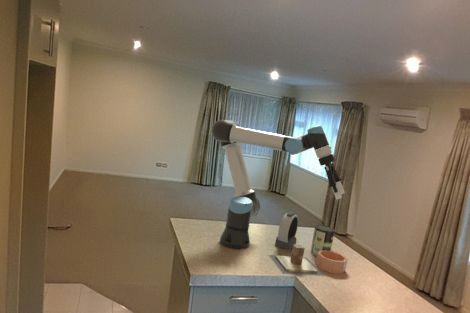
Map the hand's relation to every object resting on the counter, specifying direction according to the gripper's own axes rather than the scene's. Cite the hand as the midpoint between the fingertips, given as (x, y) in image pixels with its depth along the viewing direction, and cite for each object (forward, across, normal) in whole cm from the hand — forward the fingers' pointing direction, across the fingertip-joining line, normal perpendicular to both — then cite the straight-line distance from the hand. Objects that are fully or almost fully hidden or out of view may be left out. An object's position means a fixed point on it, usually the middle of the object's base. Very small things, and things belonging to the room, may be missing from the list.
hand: (340, 196), depth 183 cm
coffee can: (+26, +5, +22) cm, 34 cm away
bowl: (+29, -11, +15) cm, 35 cm away
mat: (+21, -21, +27) cm, 41 cm away
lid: (+21, -21, +27) cm, 40 cm away
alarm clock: (+16, +3, +37) cm, 41 cm away
